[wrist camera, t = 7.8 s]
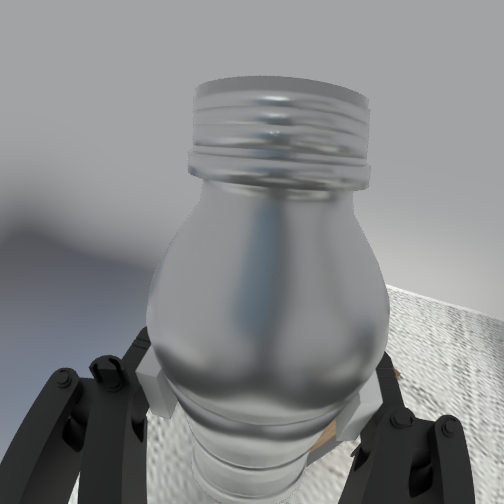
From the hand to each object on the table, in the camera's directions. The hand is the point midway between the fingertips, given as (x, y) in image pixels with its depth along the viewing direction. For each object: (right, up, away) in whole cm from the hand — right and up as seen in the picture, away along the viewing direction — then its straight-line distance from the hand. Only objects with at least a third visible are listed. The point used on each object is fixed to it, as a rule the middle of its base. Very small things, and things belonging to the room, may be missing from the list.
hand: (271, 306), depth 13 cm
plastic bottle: (-1, -12, 0) cm, 12 cm away
